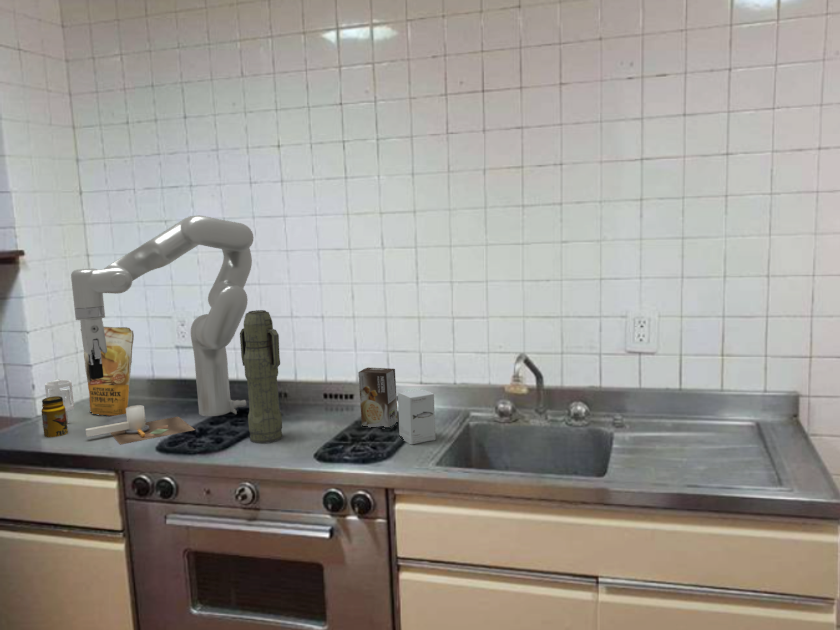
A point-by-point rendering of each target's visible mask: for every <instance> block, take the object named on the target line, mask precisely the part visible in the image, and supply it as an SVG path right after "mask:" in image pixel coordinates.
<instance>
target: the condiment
mask: <svg viewBox="0 0 840 630" xmlns="http://www.w3.org/2000/svg"><path fill="white" fill-rule="evenodd" d="M41 403H42V405H41V407H42V408H41V419H42V428H43V435H44V438H57V437H61V436H65V435H68V431H69V430H68V424H67V419H66V411H65V406H64V405H63V398H62V397H60V396H54V397H48V398H46V397H44V398H43V399H41Z"/></svg>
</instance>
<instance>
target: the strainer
mask: <svg viewBox="0 0 840 630" xmlns="http://www.w3.org/2000/svg"><path fill="white" fill-rule="evenodd" d="M44 387H45V388H44V390H45V398H48V397H54V396H60V397H62V398H63V405H64V406H65V411H66V419H67V425H68V424H69V419H68V418H69V417H68V412H69V411H72V410H74V409H75V403H74V394H73V393H74V392H73V386H72V380H70V379H59V378H58V379H54V380H52V381H51V380H50V381H47V382H45V383H44ZM66 388H67V389H66Z"/></svg>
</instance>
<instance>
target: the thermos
mask: <svg viewBox="0 0 840 630" xmlns="http://www.w3.org/2000/svg"><path fill="white" fill-rule="evenodd" d="M244 315H245V316H244V319H243V328H241V330H240V332H239V340H240V341H239V343H240V353H241V354H240V356H241V363H242V366H244V376H245V379H246V380H247V393H248V407H249V412H248V415H247V420H248V421H247V422H248V432H249V436H250V437H249V438H250V439H249V440H250V442H252V443H254V444H268V443H273V442H274V443H275V442H277V441H280V440H281V439H282V438H283V418H282V412H281V410H280V406H279V405H280V402H279V389H278V376H279V366H280V365H281V358H280V336H279V333H278V331H277V329H276V328H275V329H274V328H273V327H274V324H273V319H272V317H271V314H270V312H269V311H267V310H264V309H263V310H262V309H258V310H257V309H256V310H250V311H248V312H246V313H245V314H244Z"/></svg>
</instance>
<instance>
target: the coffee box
mask: <svg viewBox="0 0 840 630" xmlns="http://www.w3.org/2000/svg"><path fill="white" fill-rule="evenodd" d="M357 373H358V375H357V376H358V384H359V385H358V390H359V402H360V418H361V419H360V420H361V426H362V425H363V426H368V427H367V428H371V427H376V426H384V427H390V426H392V425H393V424H395V423H396V422H398V423H399V414H398V396H397V385H396V383H397V382H396V369H395V368H390V367H387V368H385V367H366V368H363V369H361V370H359V371H358V372H357Z"/></svg>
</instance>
